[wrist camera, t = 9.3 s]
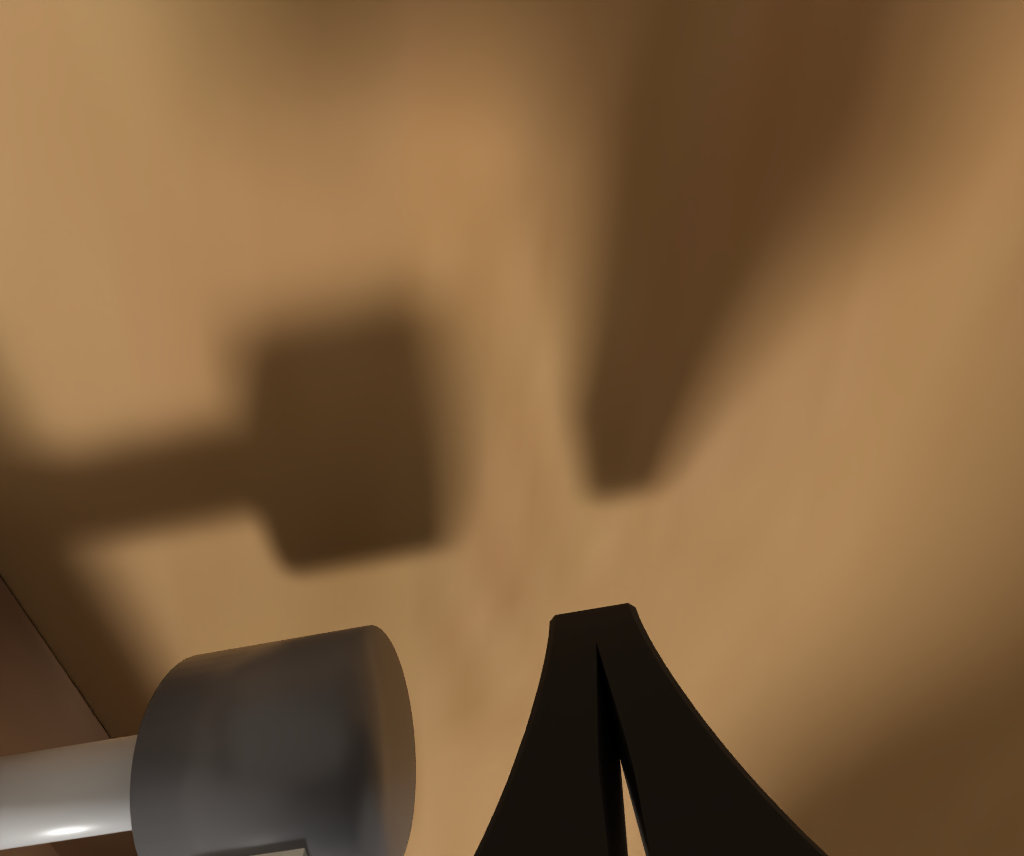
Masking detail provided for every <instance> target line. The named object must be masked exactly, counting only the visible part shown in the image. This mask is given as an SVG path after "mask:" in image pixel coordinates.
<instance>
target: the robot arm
mask: <svg viewBox="0 0 1024 856" xmlns="http://www.w3.org/2000/svg"><path fill="white" fill-rule="evenodd" d="M620 760H621V764H622V768H623V771H624V775H625V779H626V783H627V786H628V790H629V794H630V798H631V801H632V805H633V809H634V813H635V816H636V820H637V824H638V827H639V831H640V835H641V839H642V842H643V846H644V850H645V854H646V856H828V855H827V854H826V853H825V852H824V851H823V850H822V849H821V848H820V847H818V846H817V845H816V844H815V843H814V842H813V841H812V840H811V839H810V838H809V837H808V836H807V835H806V834H805V833H804V832H803V831H802V830H801V829H800V828H799V827H798V826H797V825H796V824H795V823H794V822H793V821H792V820H791V819H790V818H789V817H788V816H787V815H786V814H785V813H784V812H783V811H782V810H781V809H780V808H779V807H778V806H777V805H776V804H775V802H774V801H773V800H772V799H771V798H770V797H769V796H768V795H767V794H766V793H765V792H764V791H763V789H762V788H761V787H760V786H759V785H758V784H757V783H756V782H755V781H754V780H753V779H752V777H751V776H750V775H749V774H748V773H747V772H746V771H745V769H744V768H743V767H742V766H741V765H740V764H739V763H738V761H737V760H736V759H735V758H734V757H733V755H732V754H731V753H730V752H729V751H728V749H727V748H726V747H725V746H724V745H723V743H722V742H721V741H720V739H719V738H718V737H717V736H716V734H715V733H714V732H713V731H712V729H711V728H710V727H709V726H708V724H707V723H706V722H705V721H704V719H703V718H702V717H701V715H700V714H699V713H698V711H697V710H696V709H695V707H694V706H693V704H692V703H691V702H690V700H689V699H688V697H687V696H686V694H685V693H684V692H683V690H682V689H681V687H680V686H679V684H678V683H677V682H676V680H675V679H674V677H673V676H672V674H671V673H670V671H669V670H668V668H667V667H666V665H665V664H664V662H663V660H662V659H661V657H660V655H659V654H658V652H657V650H656V649H655V647H654V645H653V643H652V642H651V640H650V638H649V636H648V634H647V632H646V630H645V629H644V627H643V624H642V622H641V620H640V618H639V615H638V613H637V610H636V608H635V607H634V606H632V605H631V604H629V603H625V604H619V605H613V606H607V607H601V608H595V609H589V610H583V611H577V612H571V613H565V614H559V615H555V616H554V617H553V618H552V620H551V621H550V626H549V637H548V644H547V650H546V655H545V660H544V665H543V669H542V673H541V678H540V682H539V686H538V689H537V693H536V696H535V700H534V703H533V707H532V710H531V714H530V717H529V721H528V724H527V727H526V730H525V733H524V736H523V739H522V742H521V744H520V747H519V750H518V753H517V756H516V759H515V761H514V764H513V767H512V770H511V773H510V775H509V778H508V780H507V783H506V785H505V788H504V790H503V793H502V795H501V798H500V800H499V802H498V805H497V807H496V809H495V812H494V814H493V816H492V818H491V821H490V823H489V825H488V827H487V830H486V832H485V834H484V836H483V838H482V840H481V842H480V844H479V846H478V848H477V850H476V852H475V854H474V856H628V851H627V838H626V826H625V814H624V801H623V789H622V777H621V765H620Z"/></svg>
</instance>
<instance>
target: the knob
mask: <svg viewBox="0 0 1024 856" xmlns="http://www.w3.org/2000/svg"><path fill="white" fill-rule="evenodd" d="M415 785H416V757H415V739H414V728H413V720H412V712H411V706H410V700H409V695H408V690H407V686H406V681H405V677H404V674H403V670H402V667H401V664H400V661H399V658H398V656H397V653H396V651H395V649H394V647H393V645H392V643H391V641H390V640H389V638H388V637H387V635H386V634H385V633H384V632H383V631H382V630H381V629H380V628H378V627H377V626H373V625H370V626H363V627H357V628H351V629H345V630H340V631H334V632H328V633H322V634H316V635H311V636H305V637H299V638H293V639H287V640H281V641H276V642H270V643H264V644H258V645H252V646H247V647H241V648H235V649H229V650H223V651H217V652H212V653H206V654H200V655H194V656H192V657H189V658H186V659H185V660H183V661H182V662H180V663H178V664H177V665H176V666H175V667H174V668H173V669H172V670H170V672H169V673H168V674H167V675H166V676H165V678H164V679H163V680H162V681H161V683H160V685H159V686H158V688H157V689H156V691H155V692H154V694H153V696H152V698H151V700H150V702H149V704H148V707H147V709H146V712H145V714H144V717H143V719H142V722H141V726H140V729H139V732H138V735H132V736H126V737H119V738H113V739H107V740H101V741H95V742H89V743H83V744H76V745H70V746H64V747H58V748H52V749H46V750H40V751H33V752H27V753H21V754H15V755H9V756H3V757H0V850H3V849H10V848H16V847H23V846H30V845H36V844H43V843H50V842H56V841H63V840H70V839H76V838H83V837H90V836H96V835H103V834H109V833H116V832H123V831H129V830H132V833H133V838H134V843H135V848H136V851H137V854H138V856H404V853H405V851H406V847H407V844H408V840H409V836H410V831H411V826H412V819H413V812H414V802H415Z"/></svg>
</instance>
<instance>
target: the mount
mask: <svg viewBox="0 0 1024 856" xmlns="http://www.w3.org/2000/svg"><path fill="white" fill-rule="evenodd" d="M107 739H110V738H109V736H108V735H107V733H106V732H105V730H104V729H103V727H102V726H101V724H100V723H99V721H98V720H97V719H96V717H95V716H94V714H93V713H92V711H91V710H90V708H89V707H88V705H87V704H86V702H85V701H84V699H83V698H82V696H81V695H80V693H79V692H78V691H77V689H76V688H75V686H74V685H73V683H72V682H71V680H70V679H69V677H68V676H67V674H66V673H65V671H64V670H63V668H62V667H61V666H60V664H59V663H58V661H57V660H56V658H55V657H54V655H53V654H52V652H51V651H50V649H49V648H48V646H47V645H46V643H45V642H44V640H43V639H42V638H41V636H40V635H39V633H38V632H37V630H36V629H35V627H34V626H33V624H32V623H31V621H30V620H29V618H28V617H27V615H26V614H25V612H24V611H23V610H22V608H21V607H20V605H19V604H18V602H17V601H16V599H15V598H14V596H13V595H12V593H11V592H10V590H9V589H8V587H7V586H6V585H5V583H4V582H3V580H2V579H1V577H0V757H3V756H9V755H15V754H21V753H27V752H33V751H40V750H46V749H52V748H58V747H64V746H70V745H76V744H83V743H89V742H95V741H101V740H107ZM0 856H138V854H137V851H136V848H135V843H134V838H133V833H132V830H129V831H123V832H116V833H109V834H103V835H96V836H90V837H83V838H76V839H70V840H63V841H56V842H50V843H43V844H36V845H30V846H23V847H16V848H10V849H3V850H0Z"/></svg>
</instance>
